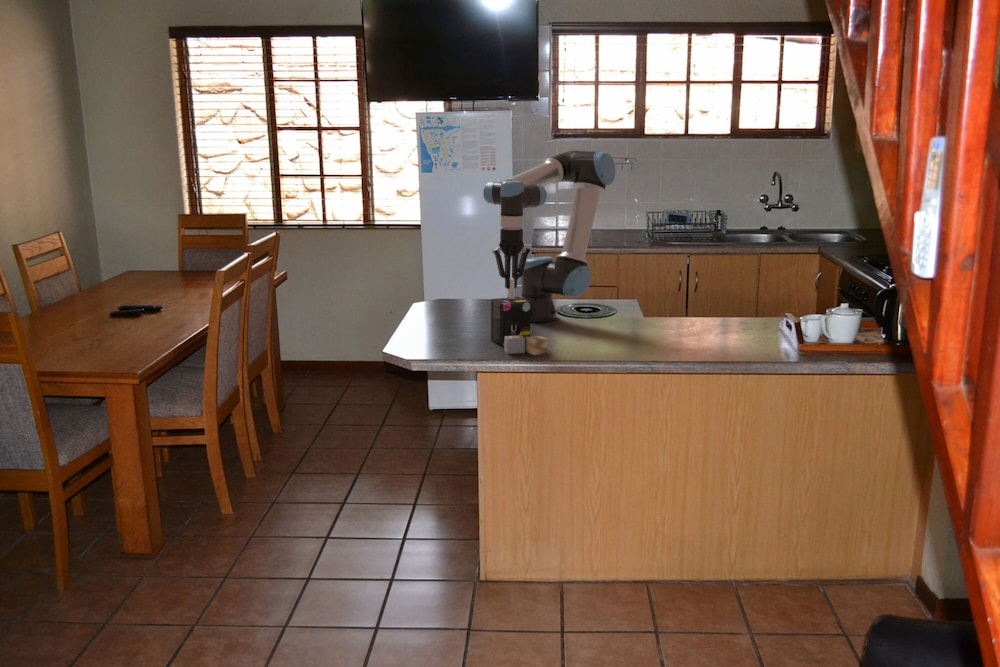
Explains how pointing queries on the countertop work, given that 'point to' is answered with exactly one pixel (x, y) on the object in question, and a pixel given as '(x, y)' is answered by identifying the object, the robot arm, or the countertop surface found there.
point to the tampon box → (510, 318)
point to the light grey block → (514, 344)
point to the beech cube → (536, 345)
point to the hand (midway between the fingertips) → (510, 297)
